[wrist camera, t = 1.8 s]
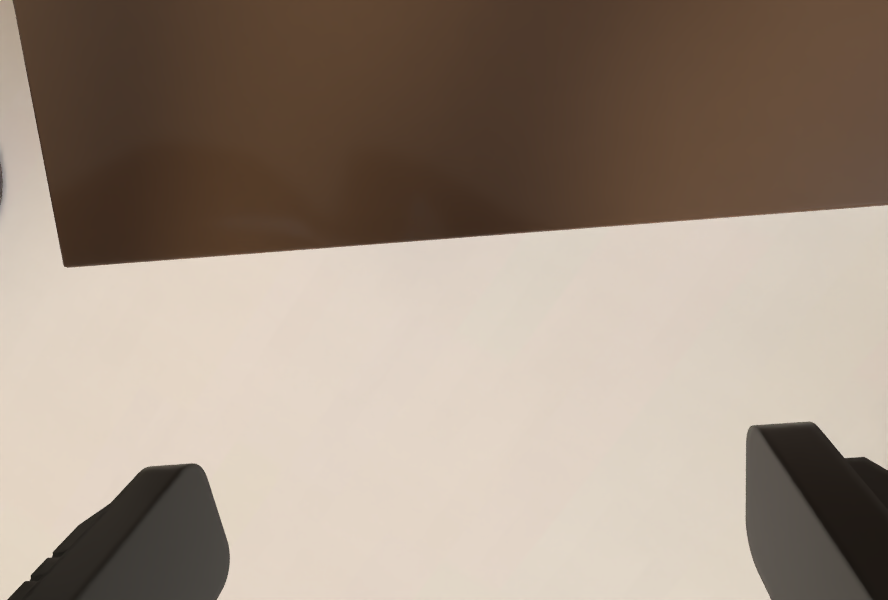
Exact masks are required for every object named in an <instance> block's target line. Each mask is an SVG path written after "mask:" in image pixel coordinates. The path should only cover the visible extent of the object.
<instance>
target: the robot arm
mask: <svg viewBox="0 0 888 600" xmlns="http://www.w3.org/2000/svg"><path fill="white" fill-rule="evenodd" d="M1 197H2V171H1V164H0V203H1ZM746 530H747V536H748V542H749V546H750V550H751V554H752V557H753V561H754V563H755V566H756V568H757V571H758V573H759V575H760V577H761V579H762V581H763V583H764V585H765V587H766V589H767V592H768V594H769V596H770V598H771V600H888V470H886V469H884V468H882V467H881V466H879V465H877V464H876V463H874V462H872V461H870V460H869V459H867V458H865V457H858V458H844V457H843V456H842V455H841V454H840V452H839V451H838V450H837V449H836V448H835V446H834V445H833V444H832V443H831V442H830V440H829V439H828V438H827V437H826V436H825V434H824V433H823V432H822V431H821V430H820V429H819V427H818V426H817V425H816V424H814V423H813V422H797V423H783V424H769V425H754V426H751V427H750V428H749V430H748V433H747V440H746ZM229 563H230V554H229V546H228V542H227V538H226V535H225V532H224V529H223V526H222V523H221V520H220V517H219V513H218V510H217V507H216V504H215V501H214V498H213V495H212V491H211V488H210V485H209V482H208V479H207V476H206V474H205V472H204V470H203V469H202V468H201V467H200V466H199V465H197V464H179V465H164V466H150V467H146V468H144V469H143V470H141V471H140V472H139V473H138V474H137V475H136V476H135V478H134V479H133V480H132V481H131V482H130V483H129V484H128V485H127V486H126V487H125V488H124V489H123V490H122V491H121V493H120V494H119V495H118V496H117V497H116V498H115V499H114V500H113V501H112V502H111V503H110V504H109V505H107V506H106V507H104V508H103V509H101V510H100V511H99V512H97V513H96V514H94V515H93V516H91V517H90V518H88V519H87V520H86V521H84V522H83V523H81V524H80V525H78V526H77V527H76V529H75V530H74V531H73V532H72V533H71V534H70V535H69V536H68V537H67V538H66V539H65V540H64V541H63V542H62V543H61V544H60V545H59V546H58V547H57V548H56V549H55V550H54V552H53V556H52V558H47V559H46V560H45V561H44V562H43V563H42V564H41V565H40V566H39V567H38V568H37V569H36V570H35V571H34V572H33V573H32V575H31V579H30V581H25V582H24V583H23V584H22V585H21V586H20V587H19V588H18V589H17V590H16V591H15V592H14V593H13V594H12V595H11V597H10V598H9V599H8V600H217V598H218V596H219V594H220V593H221V591H222V589H223V587H224V585H225V582H226V579H227V575H228V571H229Z"/></svg>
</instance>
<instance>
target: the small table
mask: <svg viewBox="0 0 888 600" xmlns="http://www.w3.org/2000/svg"><path fill="white" fill-rule="evenodd" d="M13 3H14V8H15V14H16V19H17V24H18V29H19V35H20V40H21V45H22V50H23V55H24V61H25V66H26V71H27V76H28V82H29V87H30V92H31V97H32V102H33V108H34V113H35V118H36V123H37V129H38V134H39V139H40V144H41V150H42V155H43V160H44V165H45V170H46V176H47V181H48V186H49V191H50V197H51V202H52V207H53V212H54V218H55V223H56V228H57V233H58V238H59V244H60V249H61V254H62V259H63V265H64V267H67V268H69V267H82V266H95V265H109V264H122V263H135V262H148V261H161V260H174V259H187V258H200V257H214V256H227V255H240V254H253V253H266V252H279V251H292V250H305V249H319V248H332V247H345V246H358V245H371V244H384V243H397V242H411V241H424V240H437V239H450V238H463V237H476V236H489V235H502V234H516V233H529V232H542V231H555V230H568V229H581V228H594V227H607V226H621V225H634V224H647V223H660V222H673V221H686V220H699V219H712V218H726V217H739V216H752V215H765V214H778V213H791V212H804V211H818V210H831V209H844V208H857V207H870V206H883V205H888V0H13Z"/></svg>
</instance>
